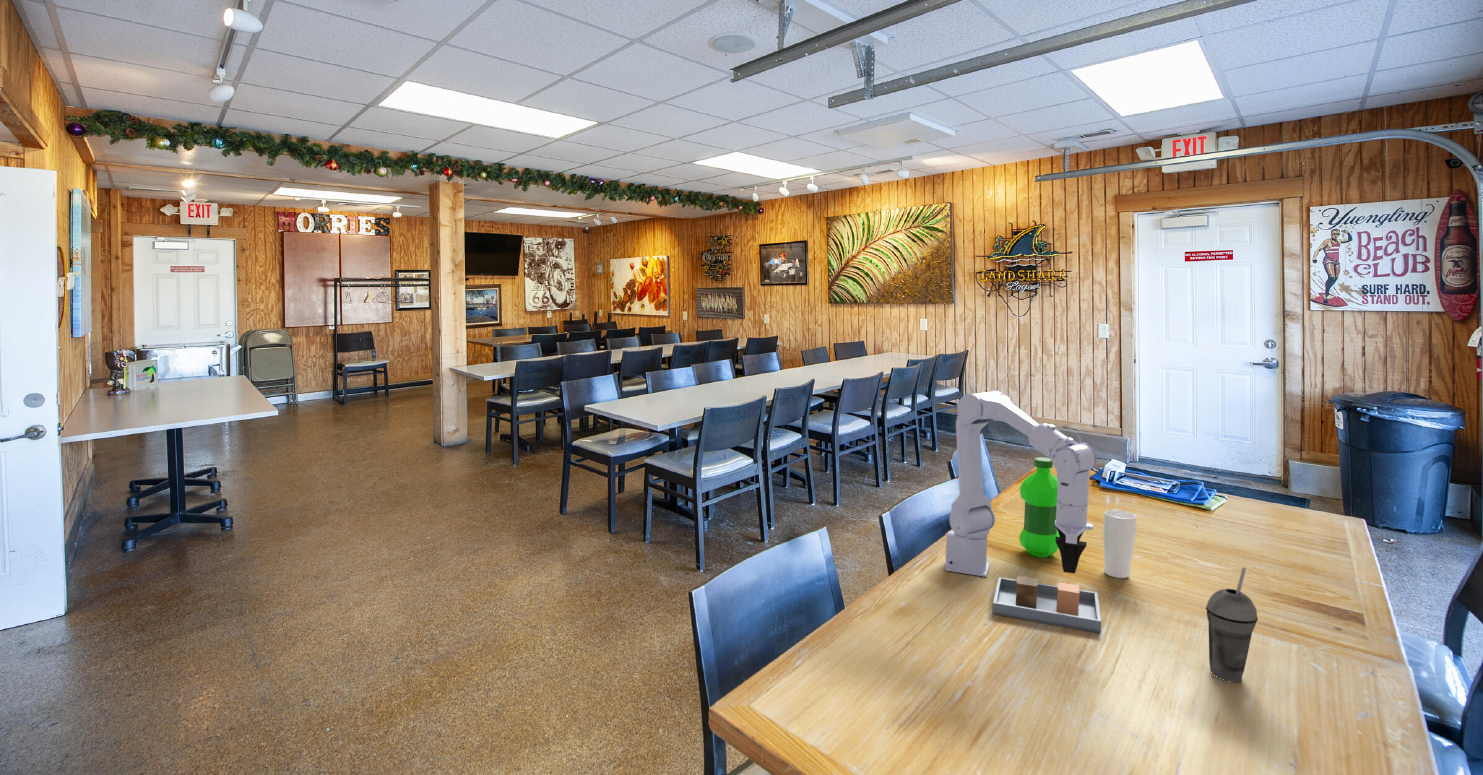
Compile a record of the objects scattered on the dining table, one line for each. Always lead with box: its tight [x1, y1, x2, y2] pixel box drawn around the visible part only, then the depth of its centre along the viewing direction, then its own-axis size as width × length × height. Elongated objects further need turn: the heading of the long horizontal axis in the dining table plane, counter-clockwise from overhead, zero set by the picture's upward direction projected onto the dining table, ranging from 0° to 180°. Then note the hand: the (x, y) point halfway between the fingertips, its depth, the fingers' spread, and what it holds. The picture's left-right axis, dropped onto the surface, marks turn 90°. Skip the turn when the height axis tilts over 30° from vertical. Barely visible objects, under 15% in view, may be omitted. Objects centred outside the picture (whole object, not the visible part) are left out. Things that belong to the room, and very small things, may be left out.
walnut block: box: [1016, 575, 1039, 609], centre depth 143 cm, size 4×4×5 cm
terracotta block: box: [1057, 582, 1080, 616], centre depth 139 cm, size 4×4×5 cm
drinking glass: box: [1102, 509, 1138, 579], centre depth 157 cm, size 7×7×15 cm
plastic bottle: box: [1018, 456, 1060, 558], centre depth 170 cm, size 10×10×25 cm
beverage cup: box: [1205, 567, 1259, 683], centre depth 115 cm, size 7×7×20 cm
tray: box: [992, 576, 1102, 634], centre depth 141 cm, size 20×14×2 cm
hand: (1068, 565), depth 138 cm, fingers open, 7 cm apart
